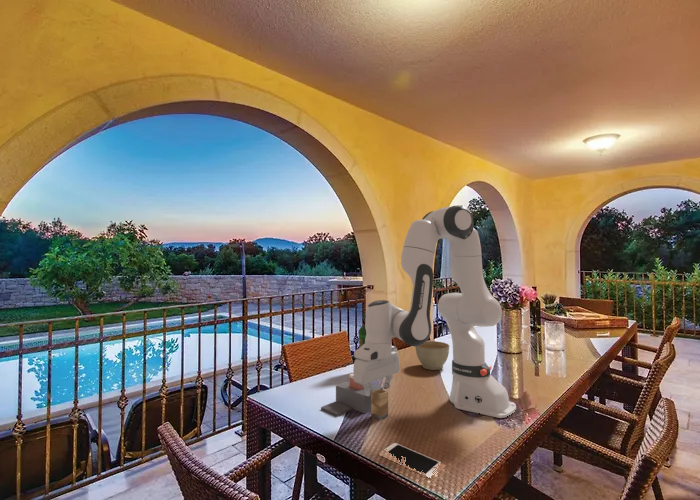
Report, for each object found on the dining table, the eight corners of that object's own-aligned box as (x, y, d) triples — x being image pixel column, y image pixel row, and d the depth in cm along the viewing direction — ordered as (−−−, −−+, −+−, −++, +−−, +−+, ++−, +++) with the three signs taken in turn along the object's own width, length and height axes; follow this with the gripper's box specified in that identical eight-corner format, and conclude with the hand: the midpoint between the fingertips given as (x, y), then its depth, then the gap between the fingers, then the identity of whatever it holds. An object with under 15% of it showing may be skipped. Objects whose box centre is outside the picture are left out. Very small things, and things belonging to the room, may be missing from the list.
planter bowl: (446, 362, 175) (446, 340, 175) (452, 373, 159) (452, 349, 159) (413, 362, 176) (413, 340, 177) (416, 372, 160) (416, 348, 161)
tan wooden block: (388, 416, 116) (388, 391, 116) (380, 420, 113) (380, 395, 113) (378, 412, 118) (378, 388, 119) (371, 416, 116) (371, 392, 116)
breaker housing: (383, 404, 125) (382, 387, 125) (364, 413, 118) (364, 395, 118) (354, 394, 135) (354, 378, 135) (335, 402, 127) (335, 385, 128)
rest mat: (351, 410, 120) (351, 407, 120) (337, 416, 115) (337, 414, 115) (335, 403, 126) (335, 401, 126) (321, 409, 121) (321, 407, 121)
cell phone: (431, 482, 82) (431, 479, 82) (377, 456, 93) (377, 453, 93) (447, 467, 88) (447, 464, 88) (394, 444, 98) (394, 442, 98)
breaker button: (368, 388, 126) (368, 374, 126) (359, 392, 123) (359, 377, 123) (358, 384, 130) (358, 371, 130) (349, 388, 126) (349, 374, 126)
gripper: (389, 343, 126) (389, 382, 125) (350, 353, 111) (349, 397, 110) (404, 346, 121) (403, 386, 121) (365, 356, 107) (364, 402, 106)
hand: (377, 391), depth 116 cm, fingers open, 8 cm apart
